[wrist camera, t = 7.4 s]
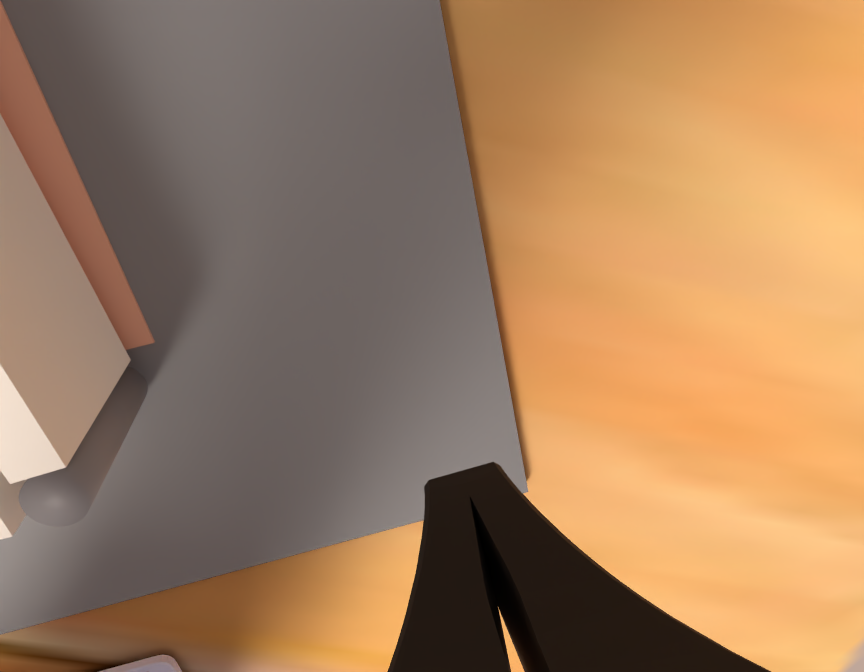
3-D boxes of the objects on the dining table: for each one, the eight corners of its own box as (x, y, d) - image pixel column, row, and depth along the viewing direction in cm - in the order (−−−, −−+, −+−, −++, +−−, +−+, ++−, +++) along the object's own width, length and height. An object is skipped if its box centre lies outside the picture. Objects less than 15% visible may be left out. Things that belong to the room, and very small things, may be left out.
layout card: (-92, 651, 22) (-100, 664, 22) (-637, 11, 13) (-671, 10, 13) (524, 484, 23) (529, 493, 23) (398, -213, 14) (400, -221, 14)
